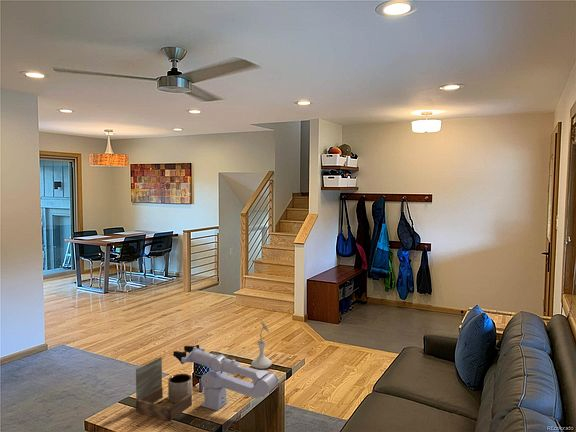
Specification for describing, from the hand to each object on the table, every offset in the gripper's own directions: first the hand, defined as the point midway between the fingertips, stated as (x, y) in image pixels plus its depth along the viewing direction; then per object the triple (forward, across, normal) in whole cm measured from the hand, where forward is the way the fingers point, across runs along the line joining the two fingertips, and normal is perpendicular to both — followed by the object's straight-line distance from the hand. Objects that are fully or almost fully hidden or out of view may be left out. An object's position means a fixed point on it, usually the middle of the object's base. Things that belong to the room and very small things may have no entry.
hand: (179, 350), depth 199 cm
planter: (-4, +2, +22) cm, 22 cm away
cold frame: (-4, +12, +21) cm, 25 cm away
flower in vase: (-20, -48, +20) cm, 56 cm away
